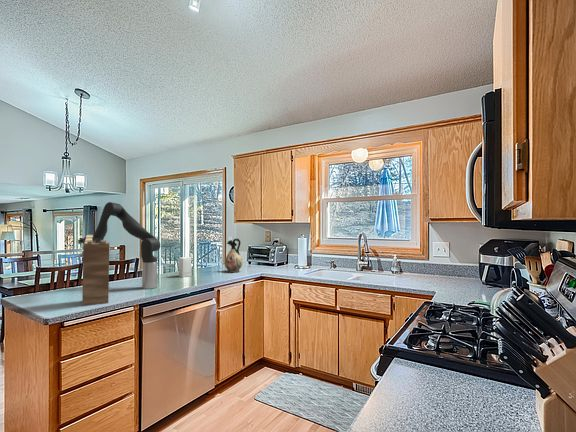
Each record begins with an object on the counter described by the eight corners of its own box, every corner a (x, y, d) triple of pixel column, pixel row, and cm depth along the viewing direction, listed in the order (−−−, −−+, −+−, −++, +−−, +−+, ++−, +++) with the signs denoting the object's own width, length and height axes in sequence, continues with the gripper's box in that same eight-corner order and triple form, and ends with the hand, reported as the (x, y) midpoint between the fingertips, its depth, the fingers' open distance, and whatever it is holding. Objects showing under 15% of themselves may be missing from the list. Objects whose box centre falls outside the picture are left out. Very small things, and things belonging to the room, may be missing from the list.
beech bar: (86, 239, 208) (86, 234, 208) (93, 239, 210) (93, 234, 209) (83, 254, 186) (83, 248, 186) (90, 253, 188) (90, 248, 187)
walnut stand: (83, 300, 181) (85, 240, 182) (108, 298, 187) (109, 240, 187) (82, 305, 170) (83, 241, 171) (108, 302, 176) (109, 241, 177)
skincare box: (187, 275, 268) (187, 256, 268) (191, 276, 264) (192, 257, 264) (178, 276, 261) (178, 257, 262) (182, 277, 257) (182, 258, 257)
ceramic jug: (222, 272, 282) (222, 238, 283) (227, 270, 298) (228, 237, 298) (241, 273, 280) (241, 238, 281) (245, 270, 295) (246, 238, 296)
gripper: (78, 238, 214) (75, 233, 200) (103, 237, 221) (102, 232, 206) (78, 249, 213) (75, 245, 198) (103, 248, 219) (102, 244, 205)
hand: (89, 238), depth 202 cm, fingers closed on beech bar, 3 cm apart
